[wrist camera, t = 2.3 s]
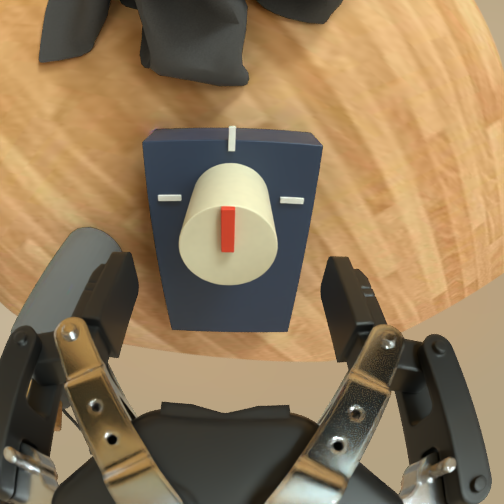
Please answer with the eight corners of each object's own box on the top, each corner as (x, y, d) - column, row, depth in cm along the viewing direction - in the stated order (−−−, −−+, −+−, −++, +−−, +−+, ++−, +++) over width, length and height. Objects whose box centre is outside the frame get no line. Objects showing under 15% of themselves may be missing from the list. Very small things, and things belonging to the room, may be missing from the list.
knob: (265, 230, 18) (273, 290, 14) (194, 229, 18) (182, 288, 14) (271, 164, 16) (283, 210, 12) (191, 162, 16) (172, 208, 11)
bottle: (62, 221, 21) (-31, 374, 9) (124, 232, 22) (51, 412, 10) (71, 273, 24) (9, 415, 12) (126, 285, 25) (80, 443, 13)
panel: (284, 306, 27) (287, 333, 25) (176, 304, 27) (171, 331, 24) (312, 120, 17) (326, 133, 15) (155, 117, 17) (140, 129, 14)
